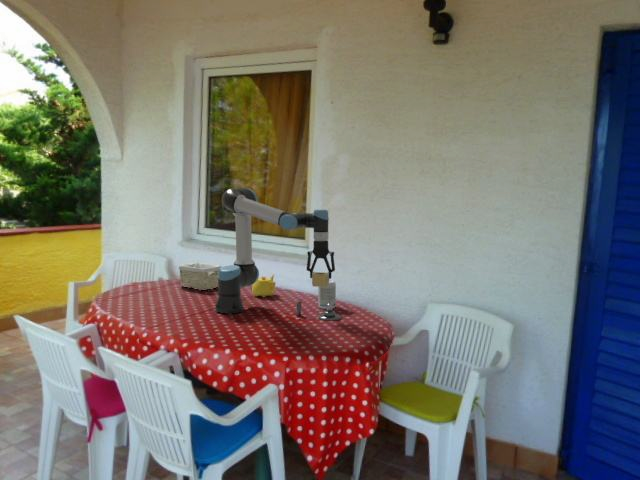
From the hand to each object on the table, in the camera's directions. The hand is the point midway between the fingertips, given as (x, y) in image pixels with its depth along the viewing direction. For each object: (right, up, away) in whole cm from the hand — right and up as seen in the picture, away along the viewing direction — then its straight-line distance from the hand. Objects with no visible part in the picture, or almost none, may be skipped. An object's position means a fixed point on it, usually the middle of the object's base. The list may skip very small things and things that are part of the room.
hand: (320, 284), depth 251 cm
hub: (+5, -17, +2) cm, 18 cm away
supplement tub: (+3, -15, +22) cm, 27 cm away
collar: (0, 0, 0) cm, 0 cm away
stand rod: (-11, -16, +4) cm, 20 cm away
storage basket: (-77, -8, +64) cm, 101 cm away
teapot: (-33, -11, +47) cm, 59 cm away
